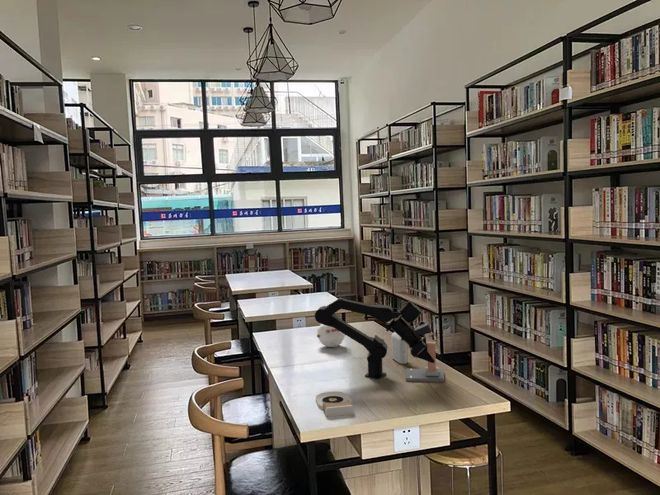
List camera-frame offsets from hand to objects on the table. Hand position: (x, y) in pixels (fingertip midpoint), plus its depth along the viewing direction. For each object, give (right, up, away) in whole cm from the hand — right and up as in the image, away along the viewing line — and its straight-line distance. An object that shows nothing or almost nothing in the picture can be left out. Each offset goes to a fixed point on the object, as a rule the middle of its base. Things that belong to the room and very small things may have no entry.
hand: (433, 358), depth 207 cm
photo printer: (-10, -6, +24) cm, 26 cm away
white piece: (-40, -5, +52) cm, 66 cm away
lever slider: (-1, -6, +1) cm, 6 cm away
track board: (-3, -7, +1) cm, 8 cm away
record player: (-39, -11, -25) cm, 47 cm away
